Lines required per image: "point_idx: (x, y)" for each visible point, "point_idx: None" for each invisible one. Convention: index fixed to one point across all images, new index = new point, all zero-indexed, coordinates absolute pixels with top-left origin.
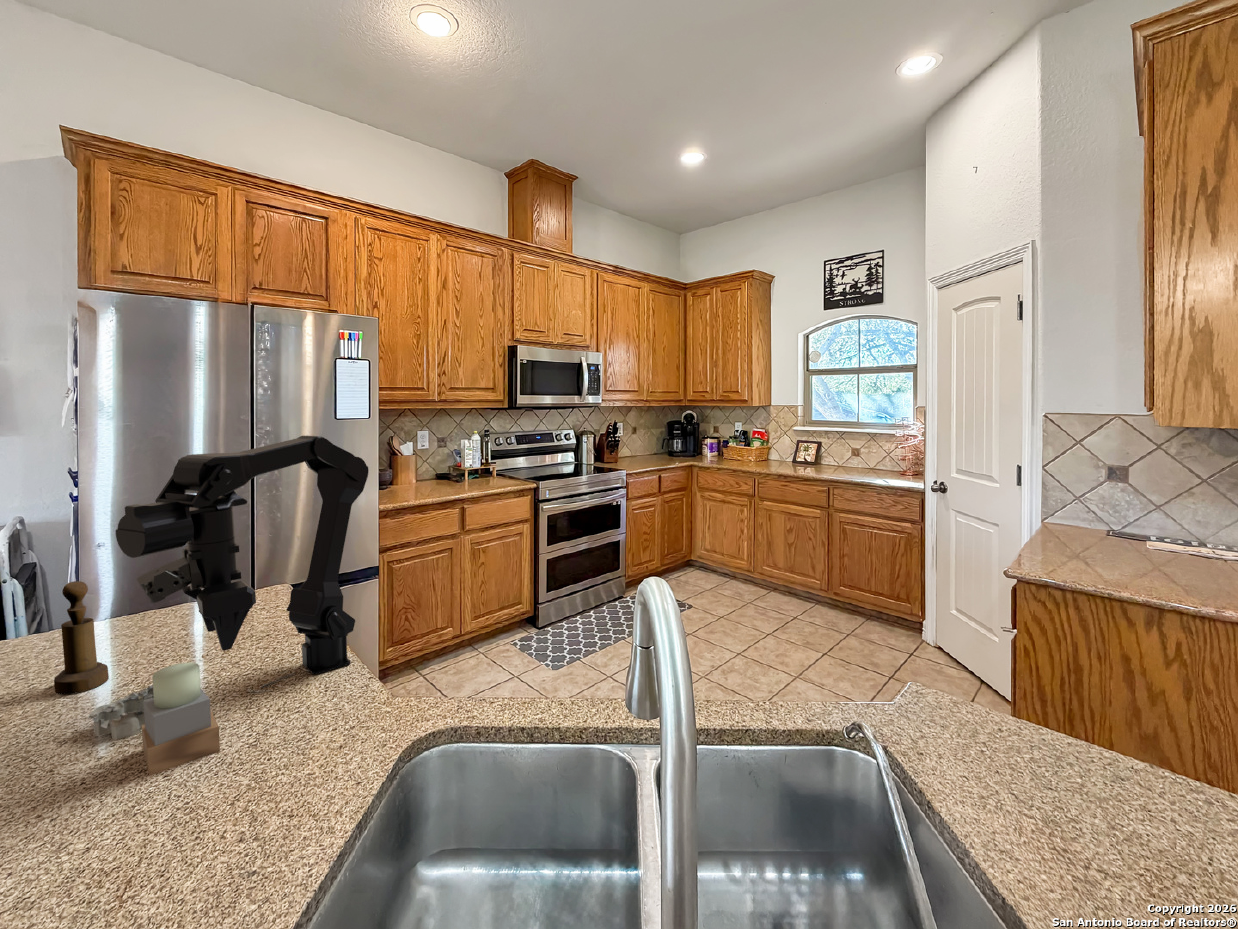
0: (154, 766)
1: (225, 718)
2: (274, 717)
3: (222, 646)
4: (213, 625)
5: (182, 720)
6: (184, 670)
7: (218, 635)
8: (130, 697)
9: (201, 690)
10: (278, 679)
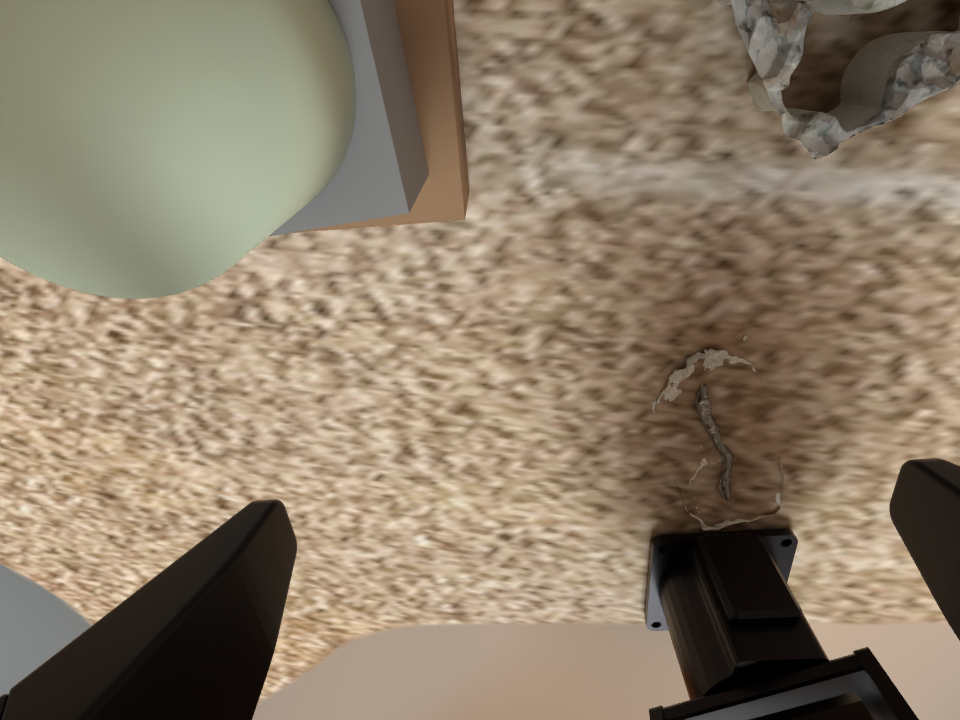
0: None
1: (524, 252)
2: (412, 390)
3: (213, 536)
4: (933, 542)
5: None
6: (52, 174)
7: (63, 651)
8: None
9: (292, 227)
10: (718, 449)
